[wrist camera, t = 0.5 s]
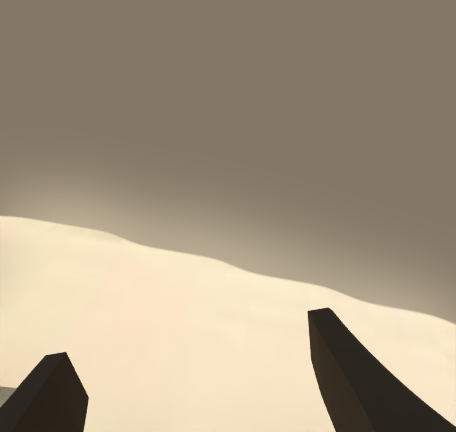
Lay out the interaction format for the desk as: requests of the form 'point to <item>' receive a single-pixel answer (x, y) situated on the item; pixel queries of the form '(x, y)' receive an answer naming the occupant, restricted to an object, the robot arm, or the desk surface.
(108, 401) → the desk surface
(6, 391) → the square cutout plate
